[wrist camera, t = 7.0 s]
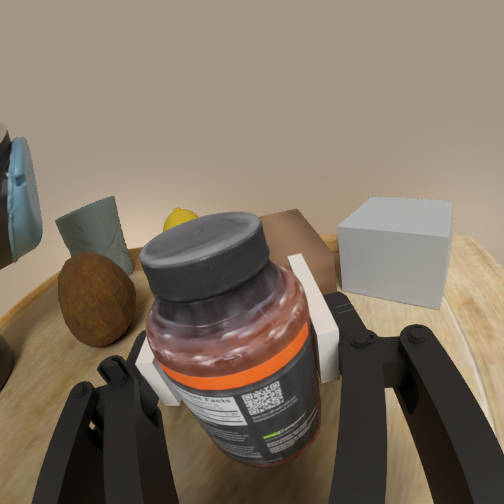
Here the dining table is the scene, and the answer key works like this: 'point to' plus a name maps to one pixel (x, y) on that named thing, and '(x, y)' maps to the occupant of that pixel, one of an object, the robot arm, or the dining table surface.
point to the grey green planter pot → (96, 232)
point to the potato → (95, 298)
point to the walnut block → (299, 246)
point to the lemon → (178, 218)
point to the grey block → (397, 250)
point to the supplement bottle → (234, 337)
